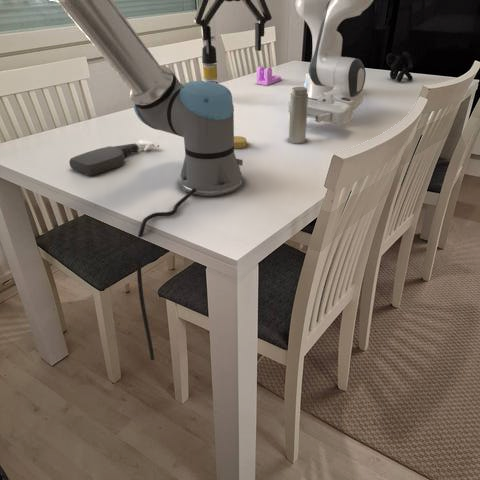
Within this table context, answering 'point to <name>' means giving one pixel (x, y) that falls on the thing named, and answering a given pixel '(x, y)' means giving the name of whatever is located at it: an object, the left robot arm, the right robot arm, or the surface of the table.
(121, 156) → the spray bottle
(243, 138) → the lid
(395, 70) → the squiggle
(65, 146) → the table surface
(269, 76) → the bracket
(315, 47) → the right robot arm
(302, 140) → the jar
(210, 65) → the black and yellow bottle
